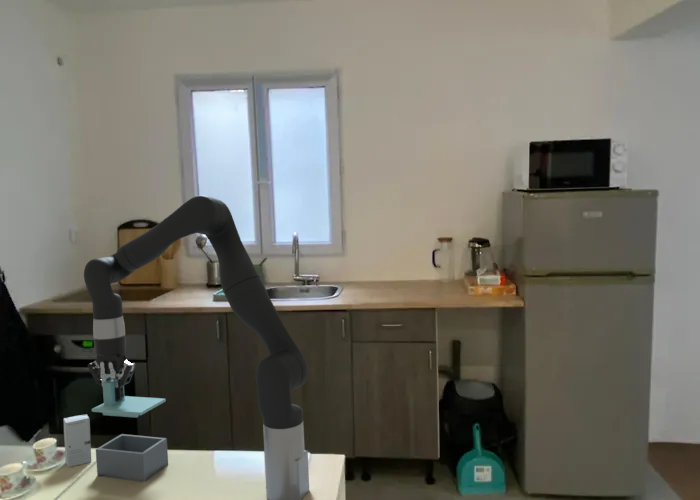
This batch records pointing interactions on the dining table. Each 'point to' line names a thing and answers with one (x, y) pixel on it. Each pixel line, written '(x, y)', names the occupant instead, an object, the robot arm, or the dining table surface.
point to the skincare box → (77, 440)
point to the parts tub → (132, 457)
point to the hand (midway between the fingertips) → (114, 400)
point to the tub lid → (125, 403)
